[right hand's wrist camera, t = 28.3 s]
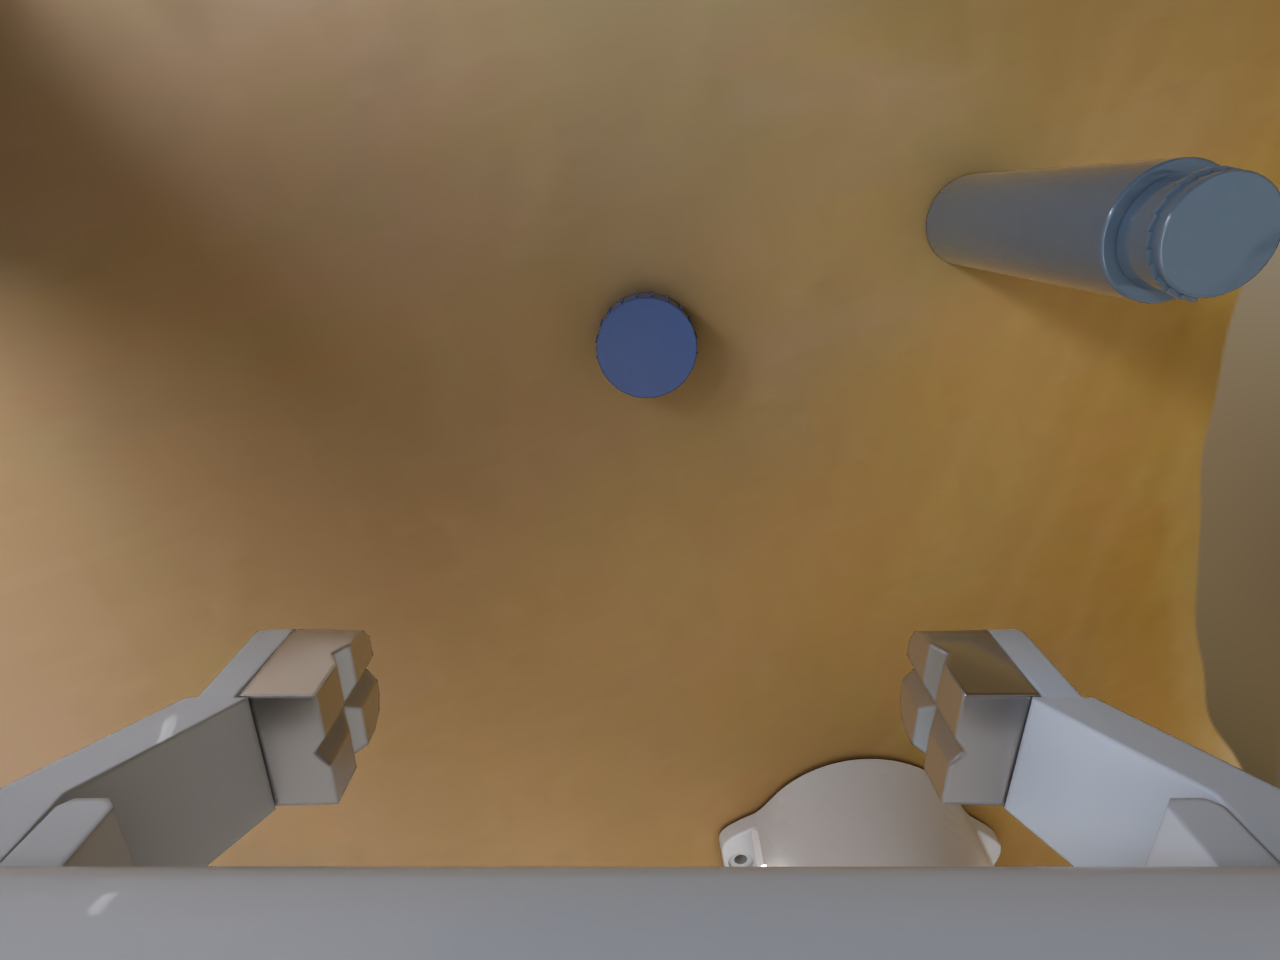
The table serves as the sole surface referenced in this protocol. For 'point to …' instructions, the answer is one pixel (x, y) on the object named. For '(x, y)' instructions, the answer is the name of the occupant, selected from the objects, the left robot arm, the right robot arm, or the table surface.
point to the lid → (646, 345)
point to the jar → (1113, 226)
